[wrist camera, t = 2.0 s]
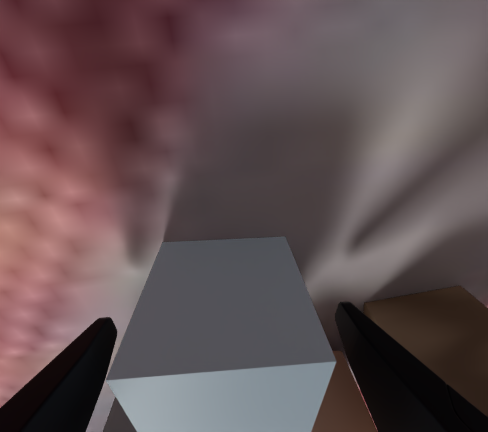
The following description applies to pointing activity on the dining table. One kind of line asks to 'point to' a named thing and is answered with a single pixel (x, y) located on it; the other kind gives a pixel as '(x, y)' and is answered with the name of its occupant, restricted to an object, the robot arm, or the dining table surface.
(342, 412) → the terracotta block
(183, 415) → the grey cube
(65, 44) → the dining table surface
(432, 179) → the dining table surface
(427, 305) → the walnut block
